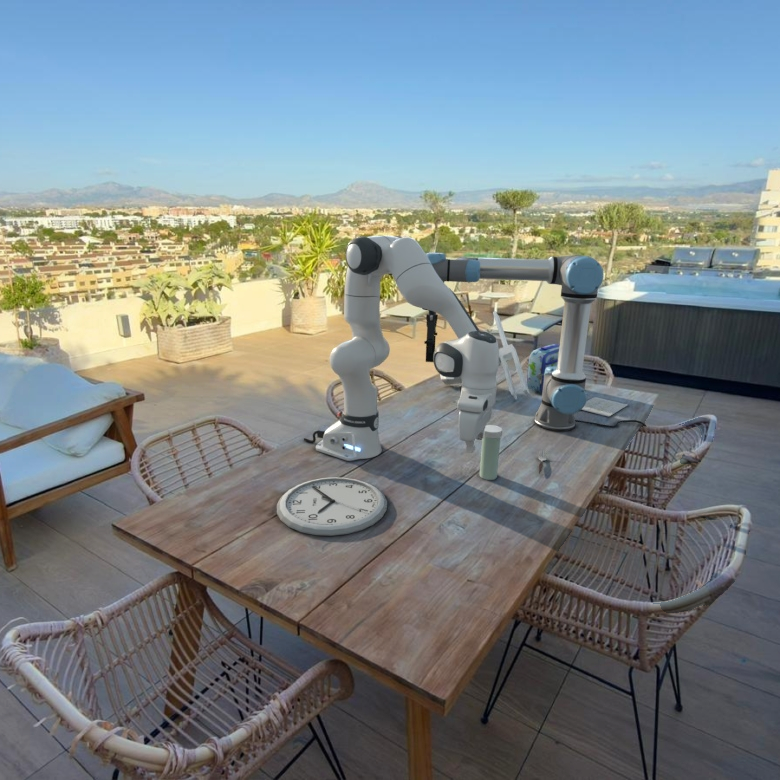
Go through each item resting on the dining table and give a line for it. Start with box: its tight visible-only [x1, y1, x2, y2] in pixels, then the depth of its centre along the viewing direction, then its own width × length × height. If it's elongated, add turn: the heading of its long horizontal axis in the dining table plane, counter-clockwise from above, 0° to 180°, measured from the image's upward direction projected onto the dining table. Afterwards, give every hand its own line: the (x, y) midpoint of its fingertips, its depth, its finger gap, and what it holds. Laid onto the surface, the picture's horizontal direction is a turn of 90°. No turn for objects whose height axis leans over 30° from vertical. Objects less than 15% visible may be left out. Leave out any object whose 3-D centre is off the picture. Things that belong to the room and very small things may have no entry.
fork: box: [538, 449, 548, 474], centre depth 169 cm, size 3×16×2 cm, turn 160°
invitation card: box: [580, 396, 629, 418], centre depth 226 cm, size 21×1×15 cm
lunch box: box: [526, 343, 560, 394], centre depth 247 cm, size 26×11×21 cm, turn 134°
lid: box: [484, 424, 503, 438], centre depth 157 cm, size 6×6×2 cm
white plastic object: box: [439, 310, 531, 400], centre depth 245 cm, size 37×45×31 cm
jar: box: [478, 436, 501, 481], centre depth 159 cm, size 5×5×15 cm
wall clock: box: [276, 476, 388, 537], centre depth 142 cm, size 30×2×30 cm
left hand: (475, 445), depth 138 cm, fingers open, 8 cm apart
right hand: (430, 357), depth 190 cm, fingers open, 13 cm apart
